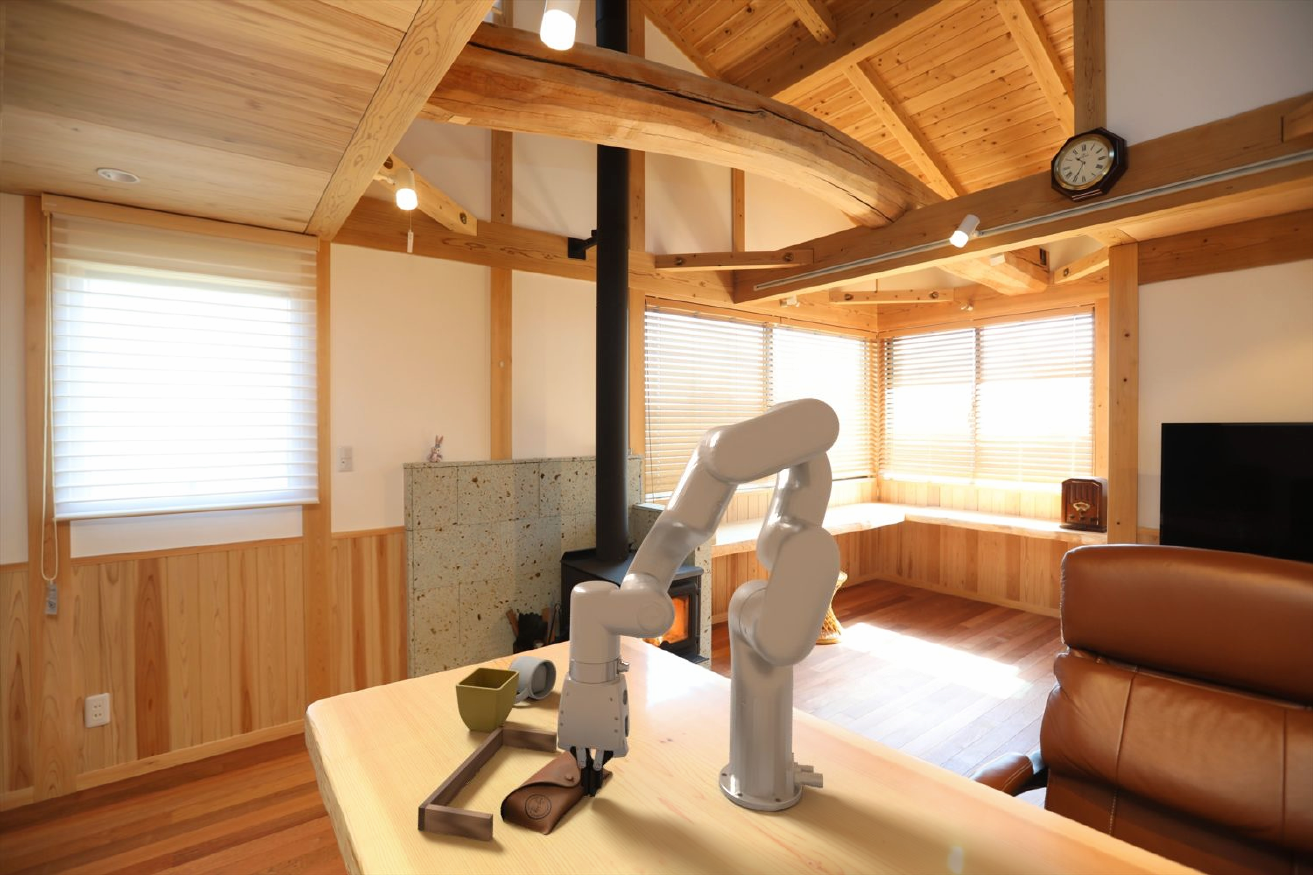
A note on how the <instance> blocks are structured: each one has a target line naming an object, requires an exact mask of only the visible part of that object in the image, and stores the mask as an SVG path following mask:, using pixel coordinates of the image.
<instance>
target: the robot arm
mask: <svg viewBox="0 0 1313 875" xmlns="http://www.w3.org/2000/svg"><path fill="white" fill-rule="evenodd" d="M839 421H840V420H839V417H838V415H837V413H836V411H835V410H834V408H833V407H832V406H831V405H830V404H828V403H827V402H825V401H824V400H821V399H818V398H813V397H812V398H811V397H810V398H809V397H808V398H807V397H806V398H799V399H798V398H797V399H794V400H792V399H791V400H787V401H782V402H779V403H776V404H773V405H772V406H770V407H769V408H768V409H767V410H766V411H765V412H764V414H761V415H759V416H756V417H753V418H750V419H747V420H744V421H741V422H737V423H733V424H723V425H718V426H714V427H711V428H710V429H708V430H706V431H705V432H704V433H703V434H702V436H700V438H699V439H698V442H697V444H696V445H695V447H694V448H693V450H692V453H691V455H690V456H689V459H688V461H687V463H686V465H685V466H684V468H683V471H682V473H681V475H680V477H679V479H678V481H677V484H676V485H675V487H674V490H672V493H671V494H670V496H669V499H668V500H667V502H666V504H665V506H664V508H663V510H662V511H661V513H660V515H659V516H658V517H657V519H656V520H655V522H654V524H653V525H652V527H651V529H650V530H649V532H648V533H647V535H646V536H645V538H644V539H643V541H642V543H641V545H640V546H639V547H638V550H637V552H636V553H635V556H634V557H633V560H632V561H631V563H630V566H628V567H629V568H628V570H627V571H626V574H625V575H624V578H623V579H622V582H621V585H620V587H619V586H618V585H617V584H616V583H613V582H609V581H605V580H588V581H584V582H579V583H577V584H575V586H573V588H572V590H571V593H570V605H569V606H570V609H569V610H570V611H569V612H570V614H569V616H570V617H569V652H568V653H569V654H568V655H569V656H568V657H569V658H568V659H569V660H568V662H569V663H568V671H567V672H566V673H565V676H564V679H563V683H562V687H561V688H562V689H561V693H560V699H559V705H558V706H559V707H558V715H557V716H558V717H557V729H556V730H557V739H558V740H557V749H560V750H563V751H564V752H565V751H567V752H570V753H571V754H572V755H573V756H574V758H575V759H576V760H577V761H578V766H579V767H580V768H581V786H583V796H584V797H588V796H589V797H590V798H595V797H596V795H597V792H598V791H599V790H600V789H602V787H603V783H604V780H603V767H604V766H605V765H606V764H607V763H608V762H609V761H611V760H612V759H613V758H614V759H618V758H619V759H620V758H625V757H626V756H627V755H628V753H629V750H630V748H629V744H628V740H627V738H628V737H629V733H630V726H631V722H630V705H629V703H630V702H629V692H628V691H629V690H628V684H627V680H626V675H625V674H624V672H625V673H629V672H630V662H628V661H627V662H625V660H623V659H622V654H621V636H624V637H630V638H636V639H643V640H646V639H647V640H650V639H651V640H652V639H657V638H660V637H662V636H664V635H666V634H667V633H668V632H669V631H670V630H671V629H672V627H673V626H674V623H675V620H676V607H675V603H674V602H673V600H672V598H671V596H670V594H669V593H668V591H669V589H670V587H671V585H672V582H673V580H674V579H675V577H676V574H677V573H678V571H679V569H680V567H681V566H682V564H683V563H684V561H685V560H686V558H688V556H689V555H690V554H691V553H692V552H693V551H694V550H696V549H698V547H699V548H700V547H701V546H702V545H704V544H705V543H707V542H708V541H709V540H710V539H711V538H712V537H714V535H715V534H716V531H717V529H718V527H719V525H720V523H721V521H722V519H723V517H724V515H725V513H726V511H727V508H728V507H729V505H730V503H731V501H732V499H733V497H734V495H735V493H736V491H737V488H738V487H739V485H743V484H748V483H753V482H756V481H758V480H761V479H763V478H767V477H769V476H772V475H775V474H776V481H775V484H774V489H773V493H772V497H771V499H770V502H769V505H768V508H767V511H766V514H765V517H764V519H763V523H762V526H761V528H760V531H759V533H758V537H757V539H756V545H755V554H756V557H757V560H758V561H759V563H760V564H761V566H762V567H763V568H764V569H765V570H766V571H768V572H769V573H770V574H769V578H768V580H765V579H753V580H749V581H746V582H744V583H742V584H741V585H739V586H738V587H737V588H736V589H735V591H734V592H733V594H732V596H731V598H730V601H729V604H728V611H727V617H728V618H727V619H728V620H727V623H728V625H727V626H728V632H729V633H728V634H729V644H730V645H729V647H730V699H729V700H730V702H729V704H730V705H729V706H730V711H729V762H728V763H727V764H726V765H724V766H723V767H722V769H721V770H720V772H719V775H718V784H719V785H718V786H719V789H720V790H721V792H722V793H723V794H724V795H725V796H726V798H728V799H729V800H730V801H732V802H734V804H737V805H739V806H742V807H744V808H747V809H750V810H756V811H761V810H762V811H764V812H774V811H775V812H776V811H779V810H780V811H782V810H785V809H788V808H790V807H792V806H794V805H796V803H798V802H799V801H800V799H801V798H802V793H803V789H802V788H803V786H808V787H812V788H817V789H823V788H824V775H823V773H819V772H815V771H814V770H815V769H814V765H811V764H810V765H808V764H805V765H804V764H799V762H797V761H795V757H794V756H795V755H794V754H795V753H794V752H793V721H794V720H793V717H794V716H793V714H794V711H793V710H794V709H793V707H794V702H793V701H794V666H795V665H798V664H800V663H801V662H802V661H804V660H806V658H807V657H808V656H809V655H810V654H811V652H812V651H813V650H814V648H815V646H816V644H817V642H818V640H819V637H820V635H821V632H822V628H823V626H824V624H825V619H826V617H827V614H828V611H829V608H830V606H831V602H832V599H833V596H834V592H835V590H836V587H837V583H838V581H839V578H840V577H839V576H840V572H841V552H840V549H839V545H838V543H837V541H836V539H835V538H834V536H833V535H832V534H831V533H830V532H829V531H828V530H827V529H825V527H823V523H824V520H825V516H826V514H827V513H826V512H827V510H828V506H829V502H830V498H831V493H832V489H833V488H832V487H833V473H832V472H833V471H832V466H831V464H830V463H831V462H830V460H829V459H830V458H829V456H828V454H827V452H828V451H829V450H830V449H831V448H832V447H833V446H834V445H835V443H836V442H837V440H838V437H839V433H840V422H839ZM592 749H593V750H595V754H594V758H593V757H592ZM781 809H782V810H781Z"/></svg>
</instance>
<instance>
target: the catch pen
mask: <svg viewBox="0 0 1313 875" xmlns="http://www.w3.org/2000/svg"><path fill="white" fill-rule="evenodd" d="M557 739H558V732H555V731H549V730H542V729H541V730H540V729H535V728H534V729H533V728H527V727H525V728H524V727H518V726H517V727H516V726H508V725H503V724H502V725H500V726H499V727H498V728H497V729H496V730H495V731H494V732H491V733H490V735H489V736H488V737H487V738H486V739H485V740H484V741H483V742H482V743H481V744H480V745H479V746H478V747H477V748H476V749H475V750H474V751H473V752H472V753H471V754H470V755H469V756H468V757H467V758H466V759H465V760H464V761H463V762H462V763H460V765H459V766H458V767H457V768H456V769H455V770H454V771H453V772H452V773H450V775H449V776H448V777H447V778H446V779H445V780H444V781H443V782H442V783H441V784H440V785H439V786H438V787H437V788H436V789H435V790H434V791H433V792H432V793H431V794H430V795H429V796H428V797H427V798H426V799H425V800H424V801H423V802H422V803H421V804H420V805H419V806H418V807H417V810H418V812H417V816H418V817H417V830H419V831H425V832H429V833H436V834H442V835H449V836H453V837H459V838H465V839H466V838H467V839H471V840H477V841H484V842H490V841H491V839H493V836H494V814H493V813H488V812H482V811H477V810H476V811H475V810H470V809H463V808H457V807H451V806H449V804H450V803H452V802H453V800H454V799H455V798H456V797H458V795H459V794H460V793H461V792H462V791H463V790H464V788H466V786H467V785H468V784H469V783H470V782H471V781H472V779H473V778H475V776H476V775H477V774H479V772H480V771H481V770H482V769H483V768H484V767H485V766H486V765H487V763H489V762H490V760H491V759H492V758H494V756H495V755H496V754H495V753H496V752H497V753H498V752H499V751H500V750H501V749H502V747H507V748H515V749H516V748H517V749H521V750H532V751H537V752H545V753H554V754H555V753H556V751H557V749H558V746H557V743H558V740H557ZM484 765H485V766H484ZM483 766H484V767H483ZM482 767H483V768H482ZM481 768H482V769H481ZM480 769H481V770H480ZM476 773H477V774H476ZM470 780H471V781H470ZM469 781H470V782H469ZM468 782H469V783H468ZM467 783H468V784H467Z"/></svg>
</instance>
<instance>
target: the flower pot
mask: <svg viewBox="0 0 1313 875" xmlns="http://www.w3.org/2000/svg"><path fill="white" fill-rule="evenodd" d="M518 680H519V671H515V670H508V669H505V668H493V667H484V666H478V667H476V668H475V669H473V671H472V672H470V673H469V674H468V675H467V676H465V677H464V678H462V679H461V680H460V681H458V682H457V683H456V684H455V694H456V700H457V701H456V702H457V708H458V713H459V716H460V718H461V720H462V722H463V724H464V725H465V726H466V728H467V729H468V730H469V731H477V732H484V733H493V732H494V731H495V730H496V729H497V728H498V727H499V726H500V725H503V724H504V723H505V722H506V721H507V719H508V717H509V715H510V713H511V712H512V710H513V707H514V705H515V704H514V702H515V699H516V696H517V695H518V692H517V687H518Z"/></svg>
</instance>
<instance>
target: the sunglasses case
mask: <svg viewBox="0 0 1313 875" xmlns="http://www.w3.org/2000/svg"><path fill="white" fill-rule="evenodd" d="M612 774H613V771H612V770H608V769H606V768H605V767H604V766H603V781H605V780H606V779H608V777H609V776H610V775H612ZM584 798H585V796H583V786H581V768H580V767H579V766H578V761H577V760H576V759H575V758H574V756H573V755H572V754H571V753H570V752H567V751H565V750H564V751H563V752H562V753H561V754H559V755H558V756H556V757H555V758H554V759H552V760H551V761H549V762H548V763H546V765H544V766H543V767H541V769H539V770H538V771H536V773H534V774H532V775H531V776H529V778H528V779H526V780H525V781H524V782H523V783H522V784H521V785H520V786H518V787H517V788H515V789H513V790H512V791H510V793H508V794H507V795H506V796H505V797H504V799H503V800H502V802H501V803H500V811H499V812H500V816H501V820H502V821H503V822H506V823H510V824H512V825H516V826H518V827H521V828H525V829H526V830H530V831H533V832H536V833H539V834H541V835H543V836H548V835H549V834H550V833H551V832H552V831H553V830H554V829H555V828H556V826H557V825H558V823H560V821H561V820H563V818H564V817H566V815H567V814H568V813H569V812H570V811H571V810H572V809H573V808H574V807H575V806H576V805H578V803H579V802H581V800H583V799H584Z"/></svg>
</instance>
